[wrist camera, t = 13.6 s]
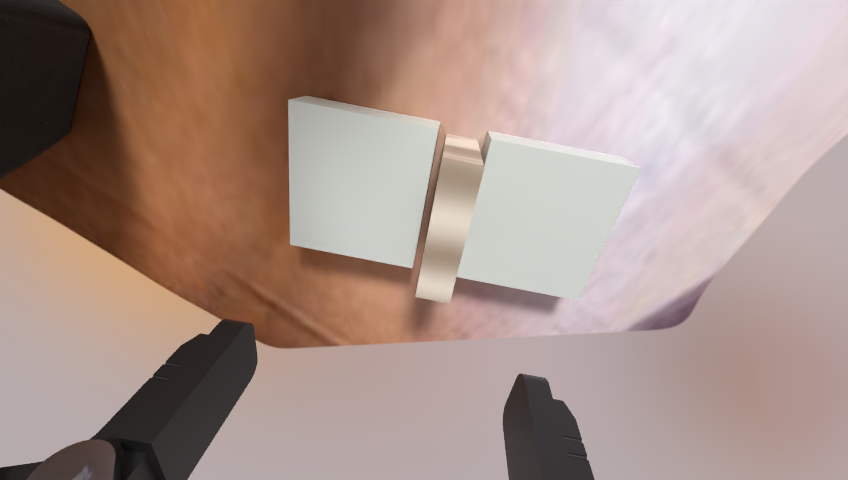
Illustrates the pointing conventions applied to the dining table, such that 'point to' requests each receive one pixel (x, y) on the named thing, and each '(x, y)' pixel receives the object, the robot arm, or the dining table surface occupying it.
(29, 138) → the flower pot
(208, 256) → the dining table surface
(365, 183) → the slotted board
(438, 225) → the beige metallic bar
